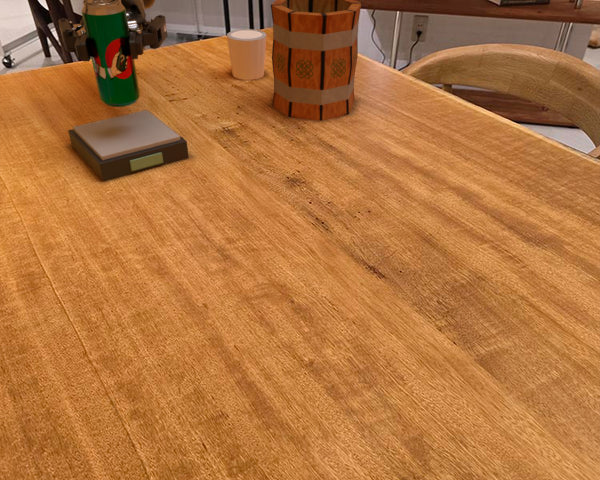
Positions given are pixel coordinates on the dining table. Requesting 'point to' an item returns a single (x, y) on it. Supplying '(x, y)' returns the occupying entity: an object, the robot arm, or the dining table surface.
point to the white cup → (247, 53)
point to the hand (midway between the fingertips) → (109, 51)
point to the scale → (127, 144)
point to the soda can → (111, 51)
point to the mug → (314, 57)
